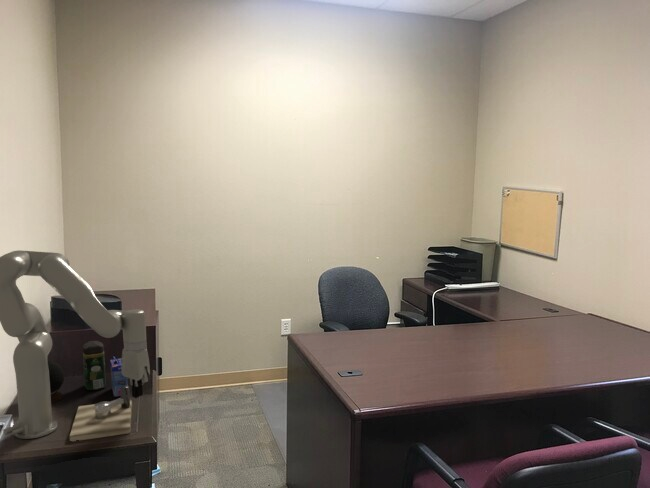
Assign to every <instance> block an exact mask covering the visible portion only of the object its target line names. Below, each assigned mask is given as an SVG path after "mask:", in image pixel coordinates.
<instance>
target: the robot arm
mask: <svg viewBox="0 0 650 488" xmlns="http://www.w3.org/2000/svg"><path fill="white" fill-rule="evenodd" d="M23 276H26V277H27V276H28V277H29V276H30V277H41V279H43V280H44V281H45V282H46V283H47V284H48V285H49V286H50V287H51V288H52V289H53V290H54V291H56V292H57V293H58V294H59V295H60V296H61V297H62V298H64V299H65V301H66V302H67V303H68V304H70V306H71V308H72V309H73V310H74V311H75V313H77V315H78V316H79V317H80V318H81V319H82V320H83V321H84V323H85V324H87V325H88V326H89V327H90V328H91V330H93V331H94V332H96V334H98V335H99V336H101V337H103V338H106V339H110V338H111V339H112V338H114V337H116V336H118V334H119V333H120V332H121V331H122V338H123V340H122V341H123V348H122V353H121V358H122V363H121V369H122V375H123V376H124V377H126V378H127V380H129V384H130V386H131V397H132V398H135V399H137V398H139V397H141V396H143V393H144V392H143V390H144V389H143V385H144V384H145V383H148V382H149V377H150V374H151V370H150V369H151V366H150V358H149V353H148V345H147V344H148V343H147V325H146V324H147V322H146V312H145V311H144V310H143V309H139V308H138V309H136V308H135V309H128V310H123V309H122V310H119V309H107V308H106V307H105V306H104V305H103V304H102V303H101V302H100V301H99V299H98V297H96V294H95V292H94V290H93V288H92V286H91V285H90V283H89V282H88V281H86V280H85V279H84V278H83V276H81V275H80V274H79V273H78V272H77V271H75V270H74V268H72V267H71V266H70V261H69V259H68V258H67V256H66V255H65V254H62V253H60V252H59V253H58V252H53V251H52V252H51V251H49V252H48V251H47V252H46V251H35V250H34V251H32V250H22V249H21V250H12V251H10V252H7V253H4V254H2V255H1V256H0V324H1V326H2V330H3V331H4V332H5V333H6V334H7V336H10V337H13V338H17V340H18V342H19V343H17V345H16V347H15V348H14V351H13V355H12V362H13V367H14V373H15V381H16V392H17V394H16V396H17V409H18V420H16V421H15V423H14V424H13V425H12V426H9V427H6V428H3V430H2V431H3V432H2V433H3V435H4V436H7V435H10V434H11V435H13V436H14V437H16V438H18V439H22V440H26V439H27V440H29V439H31V440H32V439H37V438H41V437H44V436H47V435H50V434H51V433H53V432H55V431H56V429H58V427H59V426H58V421H57V420H55V419H53V413H52V411H53V410H52V404H51V393H50V378H49V369H48V362H47V361H48V356H49V354H50V352H51V350H52V349H53V339H52V336H51V334H50V331H49V329H48V327H47V325H46V323H45V321H44V318H43V315H42V314H41V312H40V310H39V309H38V308H37V307H36V306H35V305H34V304H32V303H29V302H26V301H25V300H24V297H23V294H22V292H21V290H20V289H19V287H18V285H17V280H18V279H20V278H21V277H23Z"/></svg>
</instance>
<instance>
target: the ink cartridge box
mask: <svg viewBox="0 0 650 488" xmlns="http://www.w3.org/2000/svg"><path fill="white" fill-rule="evenodd" d="M112 357H113V359H110V360H109V365H110V377H111V389H112V394H113V397H115V398H116V397H121V393H120V387H121V386H125V385H127V386H129V385H128V378H126V377H124V376H123V375H122V369H121V363H122V357H121V358H116V356H112Z"/></svg>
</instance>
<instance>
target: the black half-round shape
mask: <svg viewBox="0 0 650 488" xmlns="http://www.w3.org/2000/svg"><path fill="white" fill-rule="evenodd" d="M47 362H48V369H49V378H50V393H51V405H52V404H54V403H57V402H59V401H61V400H62V399H63V393H61V392H60V391H59V389H60V388H61V387H62V385H63V384H64V381H65V372H64V370H63V368H62V366H61V365H60V364H58V363H57V362H54V361H52V360H47Z"/></svg>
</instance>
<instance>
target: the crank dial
mask: <svg viewBox="0 0 650 488" xmlns="http://www.w3.org/2000/svg"><path fill="white" fill-rule="evenodd" d="M127 385H128V384H127ZM127 385H125V386H121V387H120V393H121V396H120V397H119V398H117V399H113V400H111V401H107V400H106V401H99V402H97V403H94V404H95V418H98V419H102V418H107V417H109V416H110V415H111V408H112V407H115V406H117V405H120V404H121V407H123V408H125V407H129V406H130V400H131V398H130V396H131V394H130V385H128V386H127Z"/></svg>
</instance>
